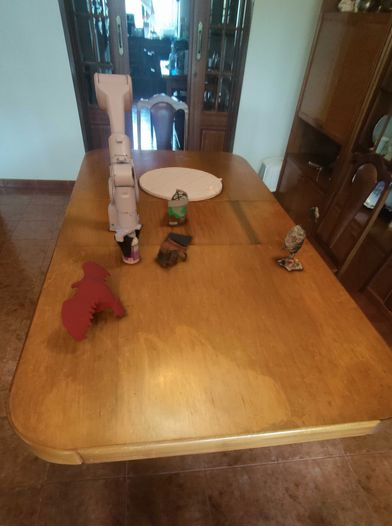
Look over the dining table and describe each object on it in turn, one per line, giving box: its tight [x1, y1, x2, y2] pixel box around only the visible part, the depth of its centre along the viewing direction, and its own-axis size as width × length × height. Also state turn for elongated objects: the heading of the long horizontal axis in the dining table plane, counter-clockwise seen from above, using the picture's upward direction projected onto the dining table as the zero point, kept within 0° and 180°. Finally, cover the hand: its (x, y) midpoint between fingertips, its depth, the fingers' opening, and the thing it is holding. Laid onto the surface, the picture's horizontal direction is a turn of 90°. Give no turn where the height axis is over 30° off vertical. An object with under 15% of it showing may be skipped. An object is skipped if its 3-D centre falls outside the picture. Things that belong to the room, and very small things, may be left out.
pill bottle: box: [121, 231, 140, 265], centre depth 100 cm, size 5×5×10 cm
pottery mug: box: [156, 237, 188, 268], centre depth 102 cm, size 12×10×8 cm
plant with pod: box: [276, 206, 320, 272], centre depth 101 cm, size 8×11×20 cm
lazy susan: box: [138, 166, 223, 202], centre depth 150 cm, size 40×39×3 cm
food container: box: [167, 189, 190, 227], centre depth 121 cm, size 12×6×10 cm, turn 168°
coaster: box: [164, 232, 192, 247], centre depth 114 cm, size 8×8×1 cm
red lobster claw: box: [60, 260, 126, 343], centre depth 81 cm, size 28×9×15 cm
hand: (130, 251), depth 101 cm, fingers closed on pill bottle, 5 cm apart
